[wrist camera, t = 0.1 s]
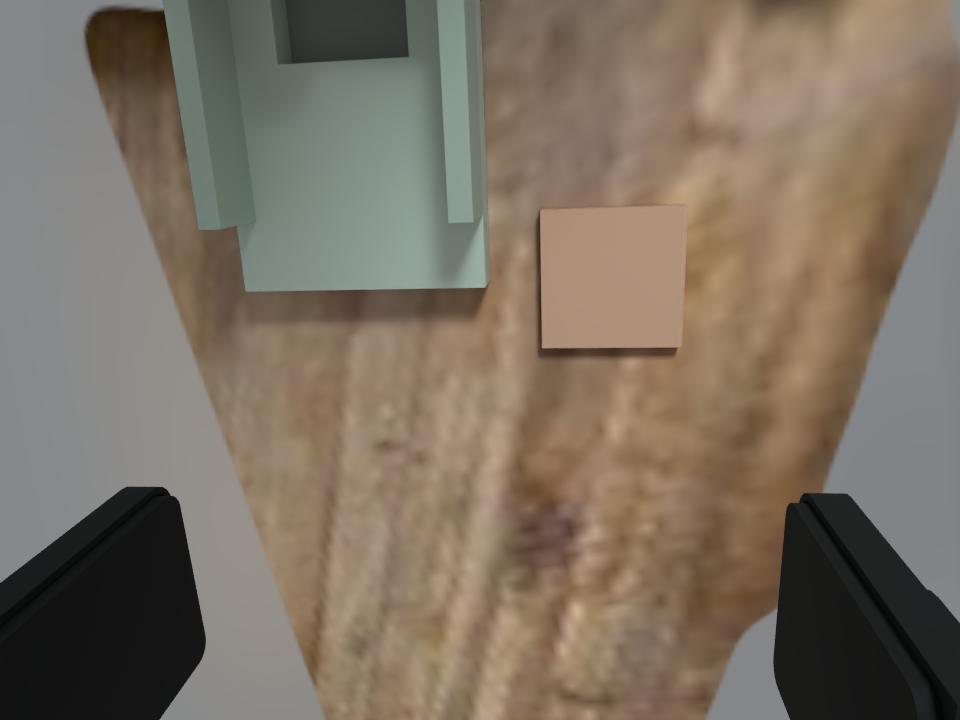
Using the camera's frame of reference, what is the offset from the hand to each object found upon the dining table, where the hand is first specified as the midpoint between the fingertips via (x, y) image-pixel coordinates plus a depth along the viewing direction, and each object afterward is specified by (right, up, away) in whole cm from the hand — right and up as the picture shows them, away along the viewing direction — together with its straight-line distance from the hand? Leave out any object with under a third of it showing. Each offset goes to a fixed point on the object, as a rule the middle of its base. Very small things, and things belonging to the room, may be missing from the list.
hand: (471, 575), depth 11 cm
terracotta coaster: (+8, +8, +29) cm, 31 cm away
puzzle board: (-7, +20, +27) cm, 35 cm away
